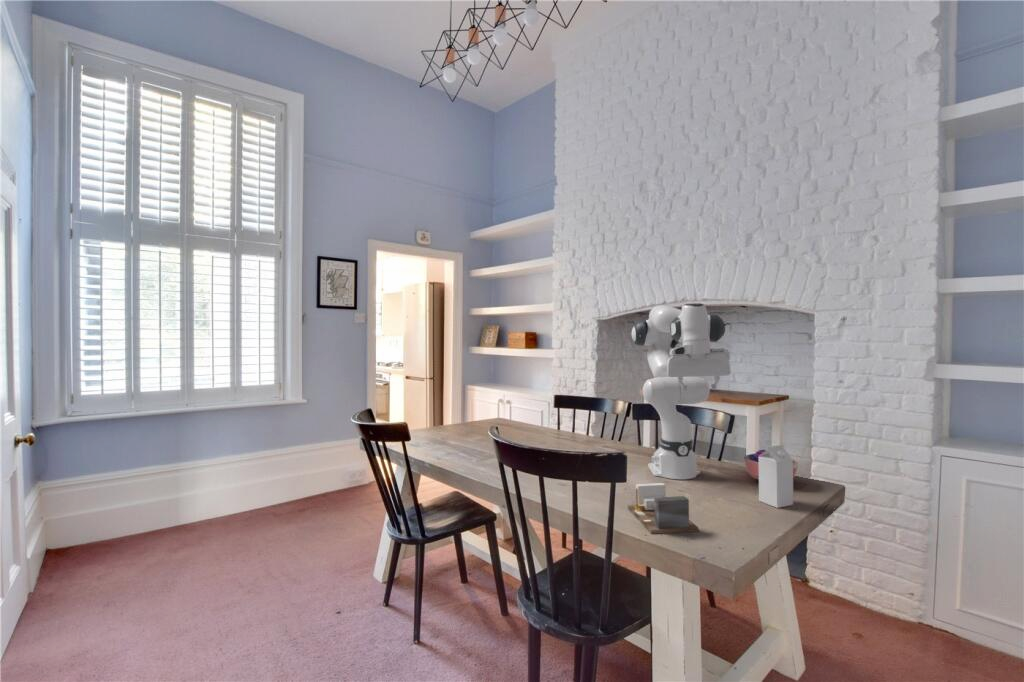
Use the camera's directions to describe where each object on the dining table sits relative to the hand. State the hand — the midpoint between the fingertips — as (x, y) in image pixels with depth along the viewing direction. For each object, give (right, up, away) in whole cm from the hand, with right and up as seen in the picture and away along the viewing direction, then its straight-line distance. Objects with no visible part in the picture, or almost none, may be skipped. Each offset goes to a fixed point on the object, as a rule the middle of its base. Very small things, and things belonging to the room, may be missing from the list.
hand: (699, 390), depth 164 cm
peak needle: (-24, -36, -12) cm, 45 cm away
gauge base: (-18, -38, -16) cm, 45 cm away
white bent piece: (-19, -36, -12) cm, 43 cm away
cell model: (+33, -36, +16) cm, 52 cm away
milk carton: (+23, -37, -6) cm, 44 cm away
